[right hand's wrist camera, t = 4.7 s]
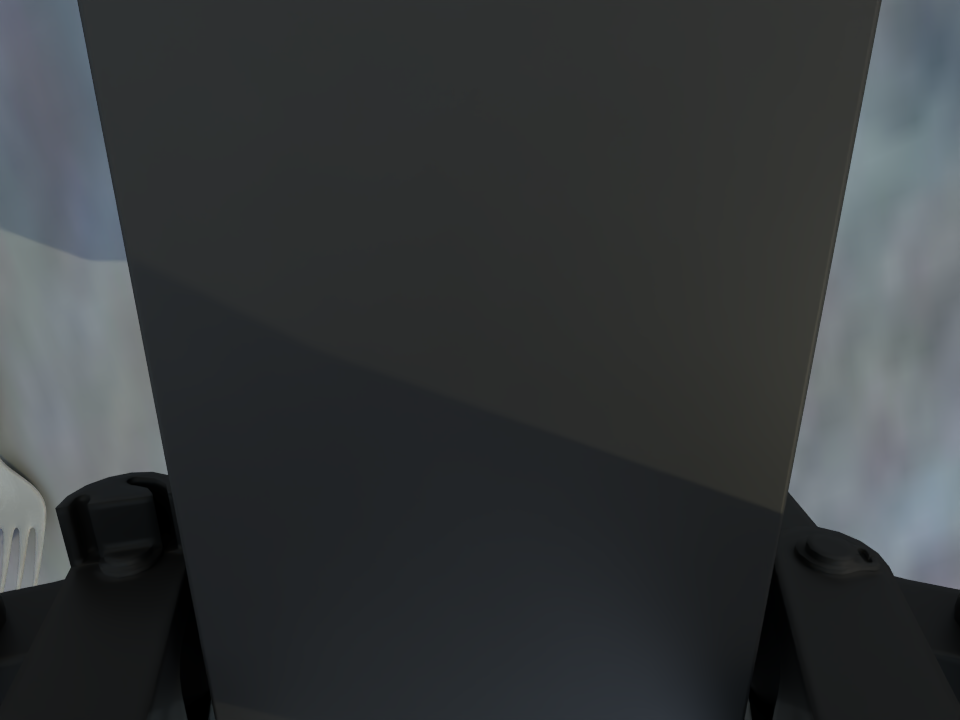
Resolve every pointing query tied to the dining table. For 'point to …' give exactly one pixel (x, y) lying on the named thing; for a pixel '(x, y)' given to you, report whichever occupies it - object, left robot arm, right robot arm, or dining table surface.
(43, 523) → the fork
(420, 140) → the bar
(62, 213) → the dining table surface
